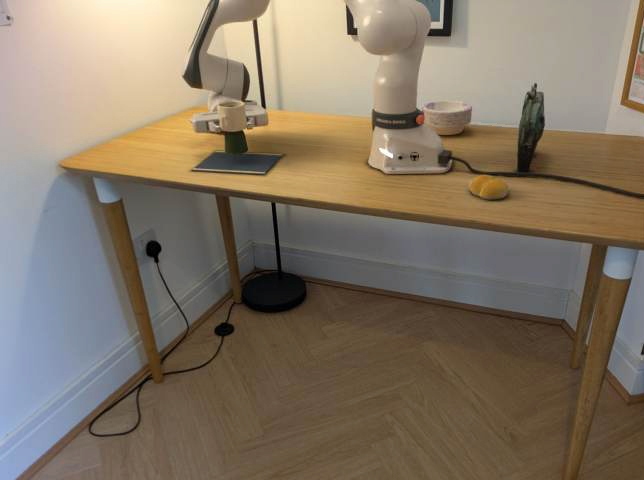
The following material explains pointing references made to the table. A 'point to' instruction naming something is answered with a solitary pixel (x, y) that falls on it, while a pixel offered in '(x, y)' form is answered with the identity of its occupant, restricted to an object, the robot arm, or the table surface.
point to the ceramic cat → (530, 128)
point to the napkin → (238, 163)
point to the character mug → (233, 126)
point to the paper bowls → (447, 116)
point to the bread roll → (488, 187)
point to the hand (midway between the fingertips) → (234, 128)
